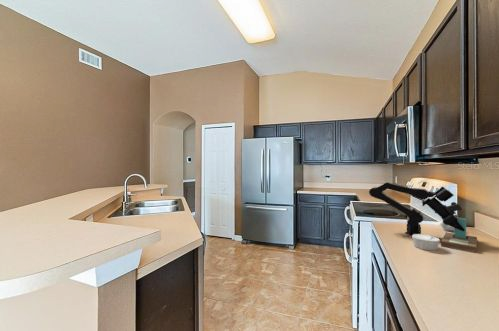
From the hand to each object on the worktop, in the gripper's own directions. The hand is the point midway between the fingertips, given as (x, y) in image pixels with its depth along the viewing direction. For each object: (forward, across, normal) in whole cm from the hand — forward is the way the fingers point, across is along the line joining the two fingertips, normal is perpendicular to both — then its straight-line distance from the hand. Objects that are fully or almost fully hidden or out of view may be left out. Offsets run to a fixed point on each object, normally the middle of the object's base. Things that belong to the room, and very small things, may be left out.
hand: (463, 229), depth 128 cm
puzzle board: (+3, -5, +6) cm, 9 cm away
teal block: (+4, 0, +6) cm, 7 cm away
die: (0, +23, +9) cm, 25 cm away
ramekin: (-6, -23, +16) cm, 28 cm away
